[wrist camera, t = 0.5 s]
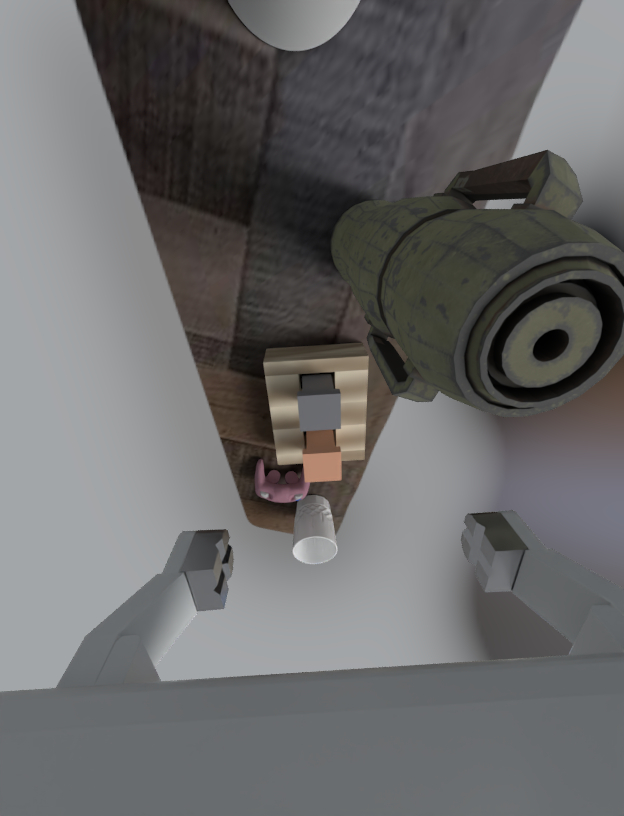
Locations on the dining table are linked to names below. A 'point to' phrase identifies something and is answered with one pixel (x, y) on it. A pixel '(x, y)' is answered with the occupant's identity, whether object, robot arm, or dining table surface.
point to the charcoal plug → (319, 403)
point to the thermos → (487, 289)
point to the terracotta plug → (321, 457)
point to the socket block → (285, 382)
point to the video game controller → (280, 485)
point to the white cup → (314, 531)
